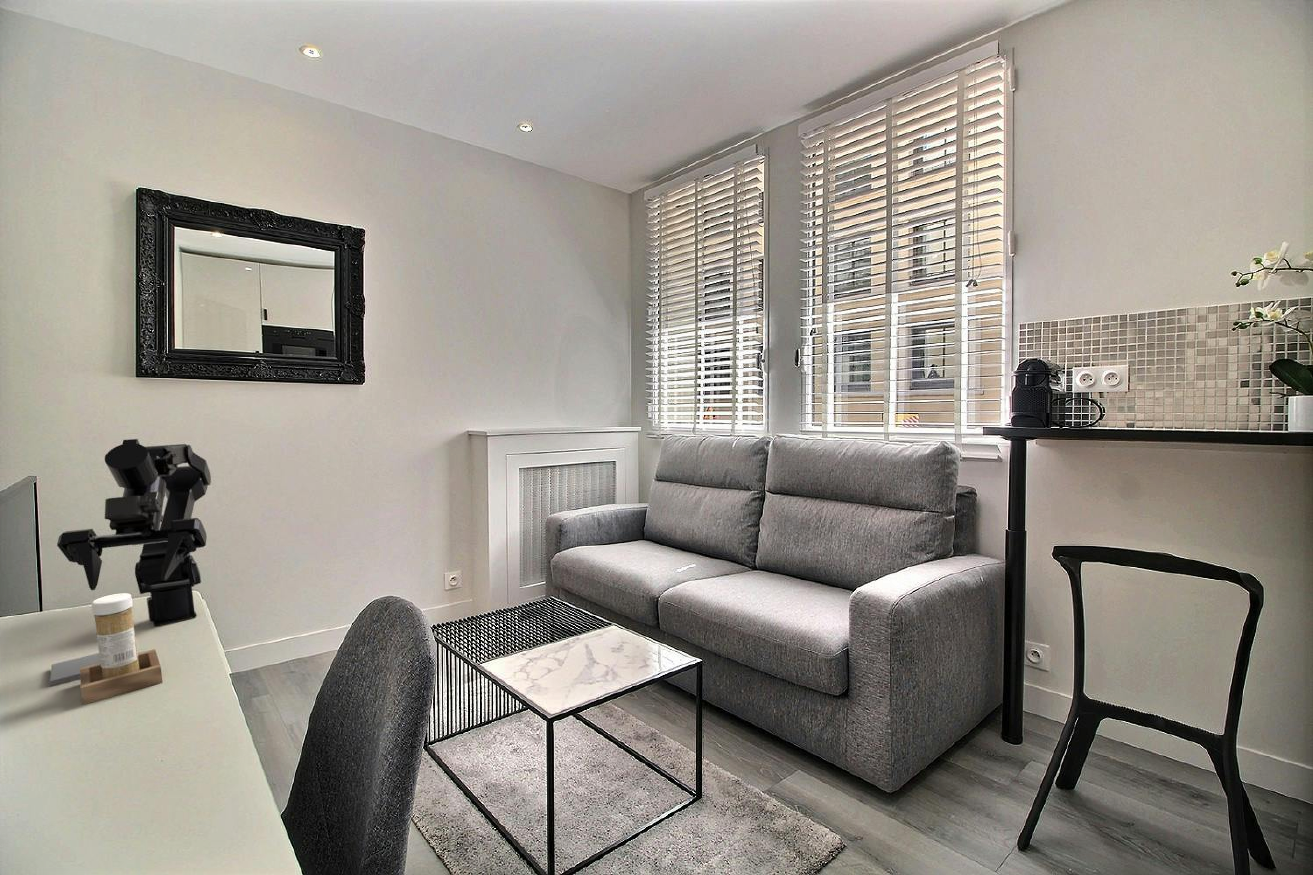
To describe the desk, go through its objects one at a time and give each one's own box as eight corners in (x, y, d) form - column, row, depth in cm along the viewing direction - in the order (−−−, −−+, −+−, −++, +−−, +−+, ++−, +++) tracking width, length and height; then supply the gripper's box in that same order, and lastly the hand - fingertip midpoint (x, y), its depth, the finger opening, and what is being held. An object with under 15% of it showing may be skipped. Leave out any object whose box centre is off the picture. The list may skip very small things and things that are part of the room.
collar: (156, 663, 102) (155, 648, 102) (162, 682, 96) (160, 666, 96) (82, 683, 96) (80, 667, 96) (82, 704, 90) (80, 687, 90)
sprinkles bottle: (141, 672, 99) (131, 590, 98) (141, 683, 96) (131, 597, 94) (102, 682, 96) (91, 597, 95) (101, 693, 93) (90, 605, 92)
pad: (132, 649, 108) (131, 644, 108) (135, 663, 103) (135, 659, 102) (52, 669, 102) (51, 664, 102) (50, 686, 96) (50, 681, 96)
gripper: (54, 482, 101) (30, 568, 92) (195, 471, 109) (186, 549, 100) (80, 521, 109) (60, 603, 100) (210, 508, 117) (202, 583, 108)
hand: (128, 584), depth 102 cm, fingers open, 9 cm apart
